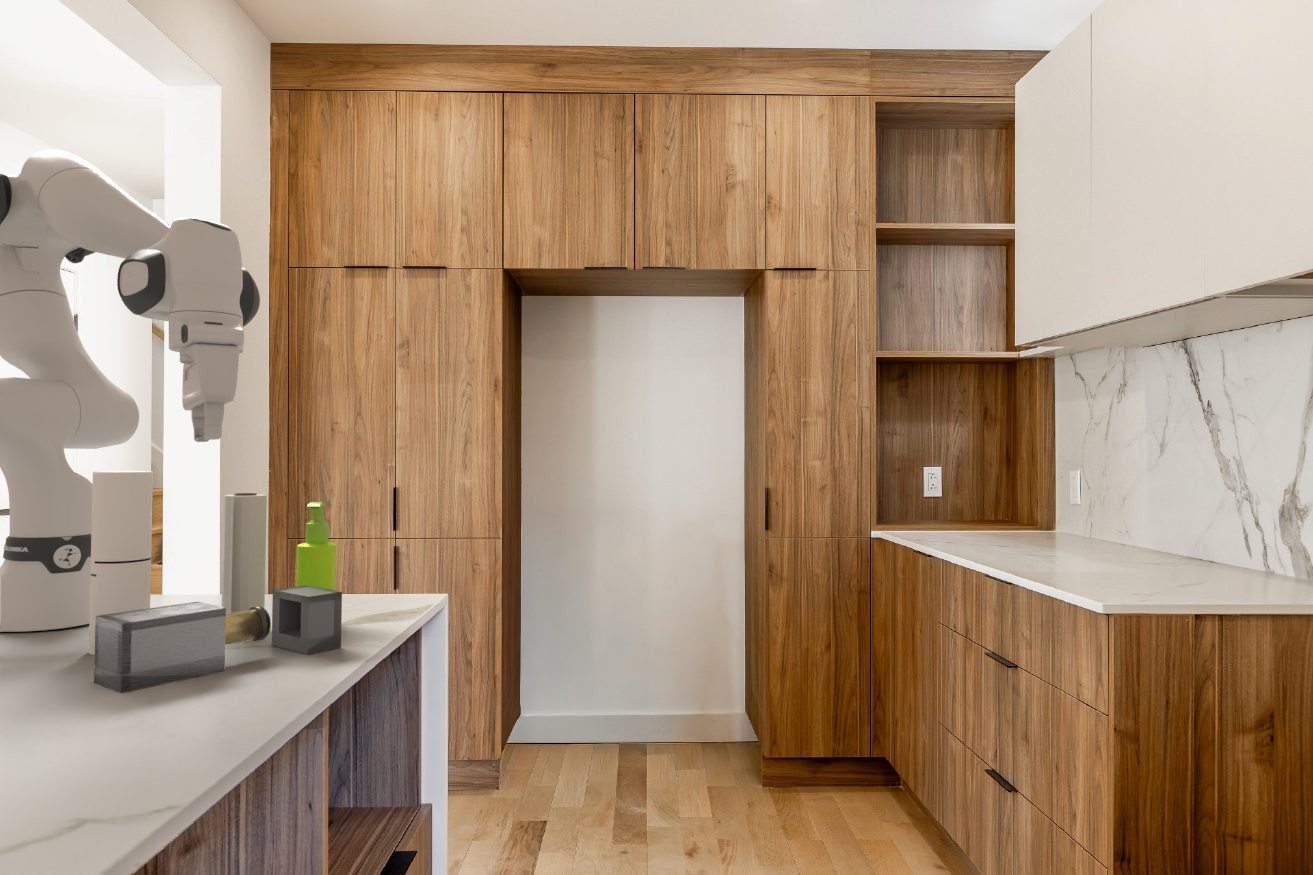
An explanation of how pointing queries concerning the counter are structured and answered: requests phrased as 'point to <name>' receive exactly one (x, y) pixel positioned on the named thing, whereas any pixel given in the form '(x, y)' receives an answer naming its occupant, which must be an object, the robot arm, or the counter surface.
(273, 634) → the dark socket block
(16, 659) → the counter surface
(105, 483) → the cylindrical container
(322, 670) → the counter surface
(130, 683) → the grey sleeve
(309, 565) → the soap dispenser
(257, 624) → the brass slip tube
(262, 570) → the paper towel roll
